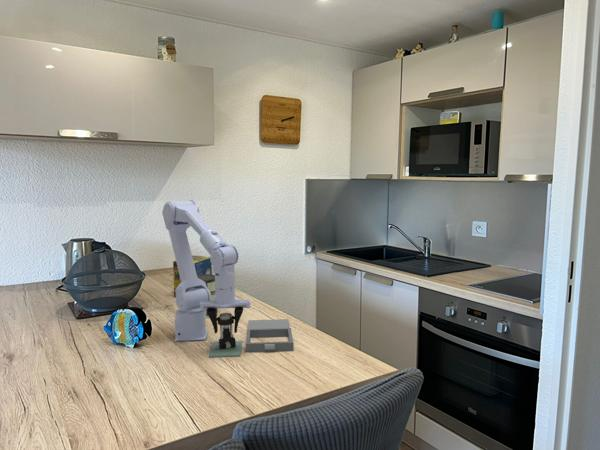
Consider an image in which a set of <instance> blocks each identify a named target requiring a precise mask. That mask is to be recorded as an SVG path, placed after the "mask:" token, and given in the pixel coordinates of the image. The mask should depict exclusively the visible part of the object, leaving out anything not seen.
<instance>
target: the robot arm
mask: <svg viewBox="0 0 600 450" xmlns="http://www.w3.org/2000/svg"><path fill="white" fill-rule="evenodd" d="M161 213H162V216H163V221H164V225H165V229H166V230H168V234H169V237H170V241H171V245H172V246H171V247H172V250H173V254H174V258H175V261H176V262H177V267H178V271H179V275H180V279H181V283H180V284H179V285H178V287H177V288H176V289H175V292H176V297H175V304H176V306H177V308H178V309H177V310H175V314H174V335H175V338H174V341H176V342H181V341H183V342H184V341H185V342H187V341H206V339H207V336H208V334H209V330H207V328H206V325H207V324H206V323H207V321H206V318H205V309H207V314H208V316H209V317H208V319H210V322H211V325H212V327H213V331H214V334H218V332H219V331H218V321H217V317H218V314H217V310H218V309H234V312H233V313H234V315H233V316H234V317H235V319H234V327H233V330H234V332H233V333H235V334H236V333H238V326H239V322H240V319H241V317H242V314H243V312H244V309H251V300H250V299H249V300H248V299H236V289H235V288H236V287H235V285H236V283H235V280H236V279H235V273H236V272H235V265H236V264H237V263H238V262H239V252H238V250H237V248H236V246H235V245H232V244H231V245H230V244H229V243H226V241H225V240H224V239H223V238H222V237H221V236H220V234H219V233H218V231H217V230H216V229H213V228H210V227H209V226H208V225H207V223H206V222H205V220H204V219H203V218H202V215H201V214H200V207H199V205H198V204H197V202H196V201H195V200H179V201H166V202H165V203H164V205H163V209H162V212H161ZM190 227H191V228H192V229H193V231H195V232H196V234H198V235H199V242H200V244H201V245H202V247H204V249H205V250H206V252H207V253H208V254H209V255H210V256H209V257H210V261H211V264H212V273H214V275H215V300H213V301H210V300H211V295H210V292H209V290H208V289H207V287H206V283H205V282H204V281H202V280H201V279H199V278H198V277H197V274H196V270H195V266H194V262H193V258H192V256H193V255H192V251H191V247H190V243H189V239H188V235H187V230H188V229H189V228H190ZM192 288H195V289H192ZM187 289H192V290H187ZM186 290H187V291H186Z"/></svg>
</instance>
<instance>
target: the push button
mask: <svg viewBox="0 0 600 450" xmlns="http://www.w3.org/2000/svg"><path fill="white" fill-rule="evenodd" d="M234 324H235V316H234V315H232V313H231V312H223V313H220V314H219V316H217V325H219V329H220V332H219V334H220V336H219V339H218V341H217V342H219V343H217V344H216V345H219V346H217V347H216V348H220V349H225V348H231V347H236V341H237V340H236V338H235V337H234V334H233V333H234V332H233V325H234ZM214 345H215V344H214ZM214 348H215V347H214Z"/></svg>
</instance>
